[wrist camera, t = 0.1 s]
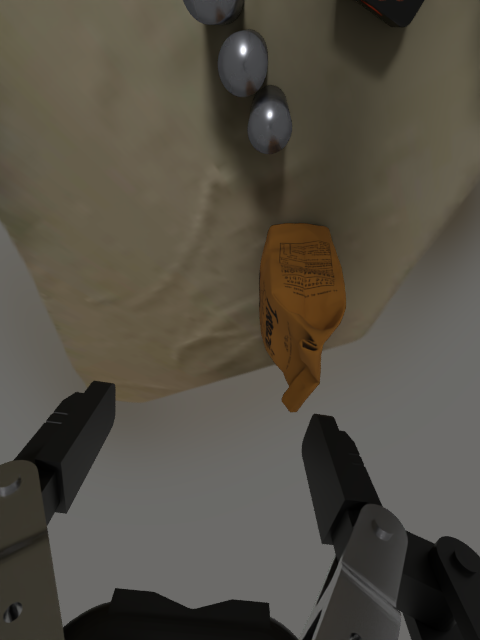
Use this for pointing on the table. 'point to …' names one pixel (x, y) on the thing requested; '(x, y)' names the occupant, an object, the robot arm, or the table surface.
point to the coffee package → (299, 303)
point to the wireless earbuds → (393, 10)
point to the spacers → (248, 75)
